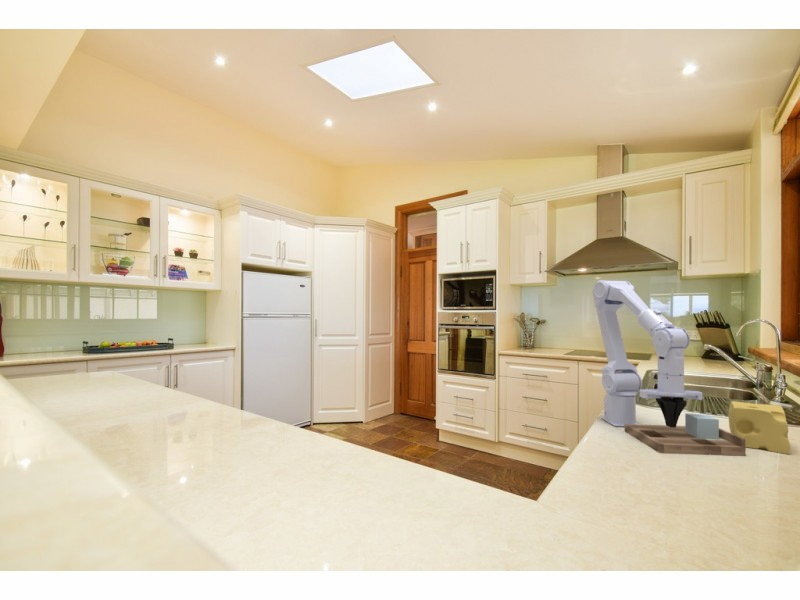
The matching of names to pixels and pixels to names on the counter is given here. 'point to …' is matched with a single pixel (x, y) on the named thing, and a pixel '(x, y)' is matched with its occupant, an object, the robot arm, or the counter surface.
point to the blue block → (702, 426)
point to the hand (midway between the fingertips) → (670, 426)
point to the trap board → (686, 440)
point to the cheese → (760, 426)
